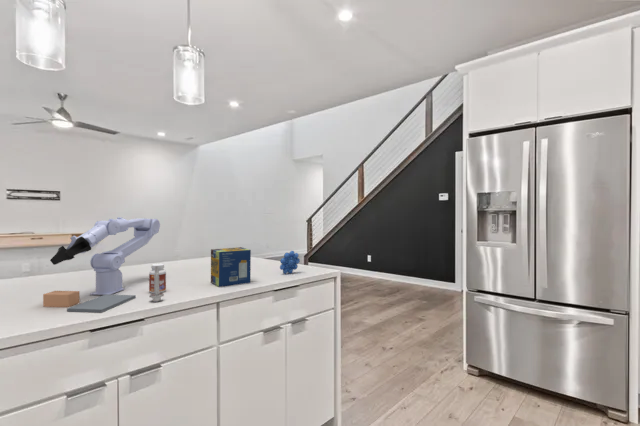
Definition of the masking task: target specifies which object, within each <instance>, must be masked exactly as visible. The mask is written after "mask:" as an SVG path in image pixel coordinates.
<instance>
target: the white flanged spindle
mask: <svg viewBox="0 0 640 426" xmlns="http://www.w3.org/2000/svg"><path fill="white" fill-rule="evenodd" d="M159 286H160V285H159V267H158V266H156V267H155V274H154V293H151V294H150V295H149V298H151V299H152V302H153V303H159V302H160V301H162V297H164V296H165V294H164V292H161V293H159Z"/></svg>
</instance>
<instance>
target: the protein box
mask: <svg viewBox="0 0 640 426" xmlns="http://www.w3.org/2000/svg"><path fill="white" fill-rule="evenodd" d="M251 255H252V251H251V249H248V248H245V247H243V246H242V247H241V246H240V247H227V248H211V249H210V283H211V284H213V285H215V286H216V287H218V288H220V287H222V288H223V287H229V286H230V287H231V286H237V285H242V284H243V285H244V284H251V268H252V267H251V266H252V265H251V263H252V262H251V260H252V259H251V258H252V257H251Z"/></svg>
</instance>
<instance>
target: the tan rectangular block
mask: <svg viewBox="0 0 640 426" xmlns="http://www.w3.org/2000/svg"><path fill="white" fill-rule="evenodd" d="M42 300H43V301H42V303H43V305H42V307H47V308H48V307H49V308H55V307H56V308H70V307H72V306H75V304H76V305H78V303H79V304H81V303H80V301H81V300H80V291H78V290H53V291H49V292H47V293H43V295H42Z"/></svg>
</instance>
